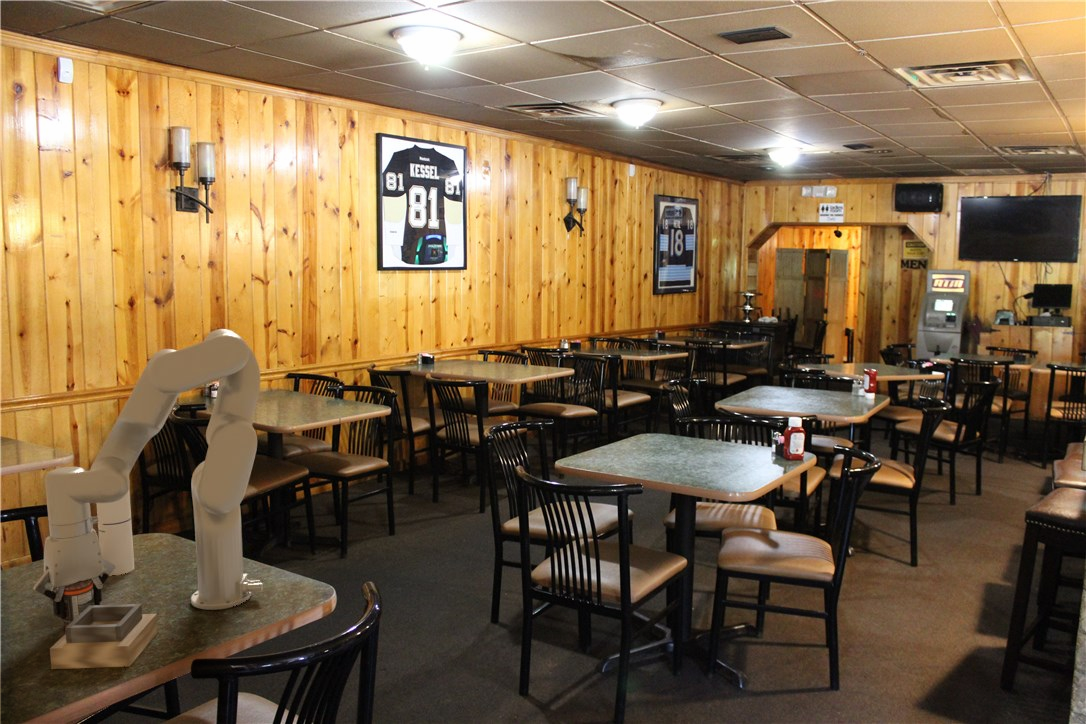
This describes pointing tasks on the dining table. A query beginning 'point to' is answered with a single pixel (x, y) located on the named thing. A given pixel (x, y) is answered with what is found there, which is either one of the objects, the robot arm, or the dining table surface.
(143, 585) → the dining table surface
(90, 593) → the supplement bottle
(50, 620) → the dining table surface
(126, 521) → the cylindrical container
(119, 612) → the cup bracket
